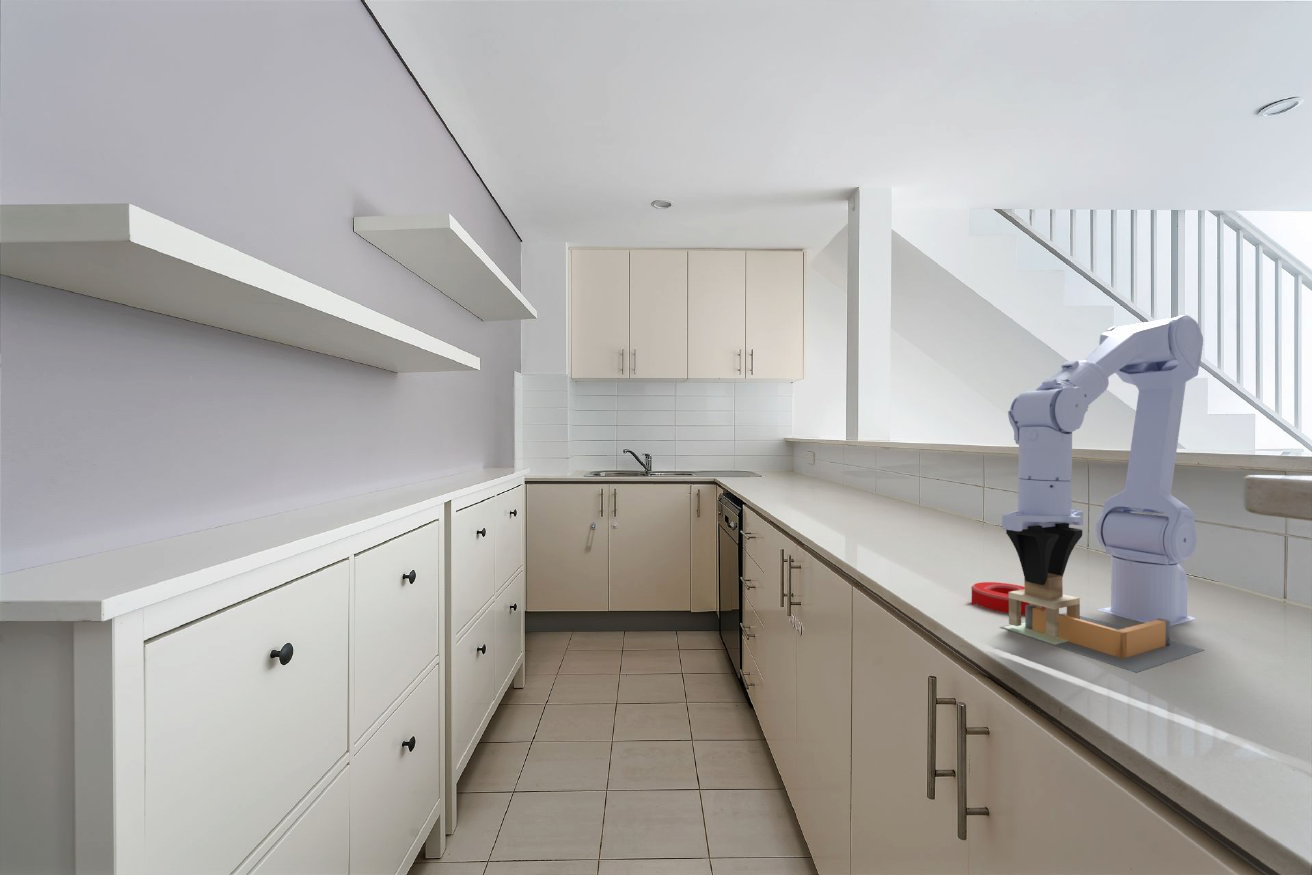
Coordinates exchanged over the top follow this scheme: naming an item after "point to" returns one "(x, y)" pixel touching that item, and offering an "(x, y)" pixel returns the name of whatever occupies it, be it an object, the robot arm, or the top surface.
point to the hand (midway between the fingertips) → (1043, 581)
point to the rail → (1104, 633)
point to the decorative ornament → (995, 596)
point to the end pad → (1035, 634)
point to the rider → (1044, 602)
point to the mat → (1132, 662)
